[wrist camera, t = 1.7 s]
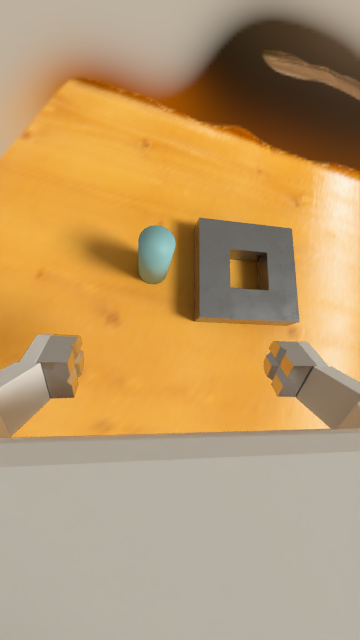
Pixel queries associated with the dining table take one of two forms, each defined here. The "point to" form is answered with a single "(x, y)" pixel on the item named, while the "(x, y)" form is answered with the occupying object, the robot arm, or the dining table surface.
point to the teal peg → (155, 253)
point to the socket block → (272, 269)
